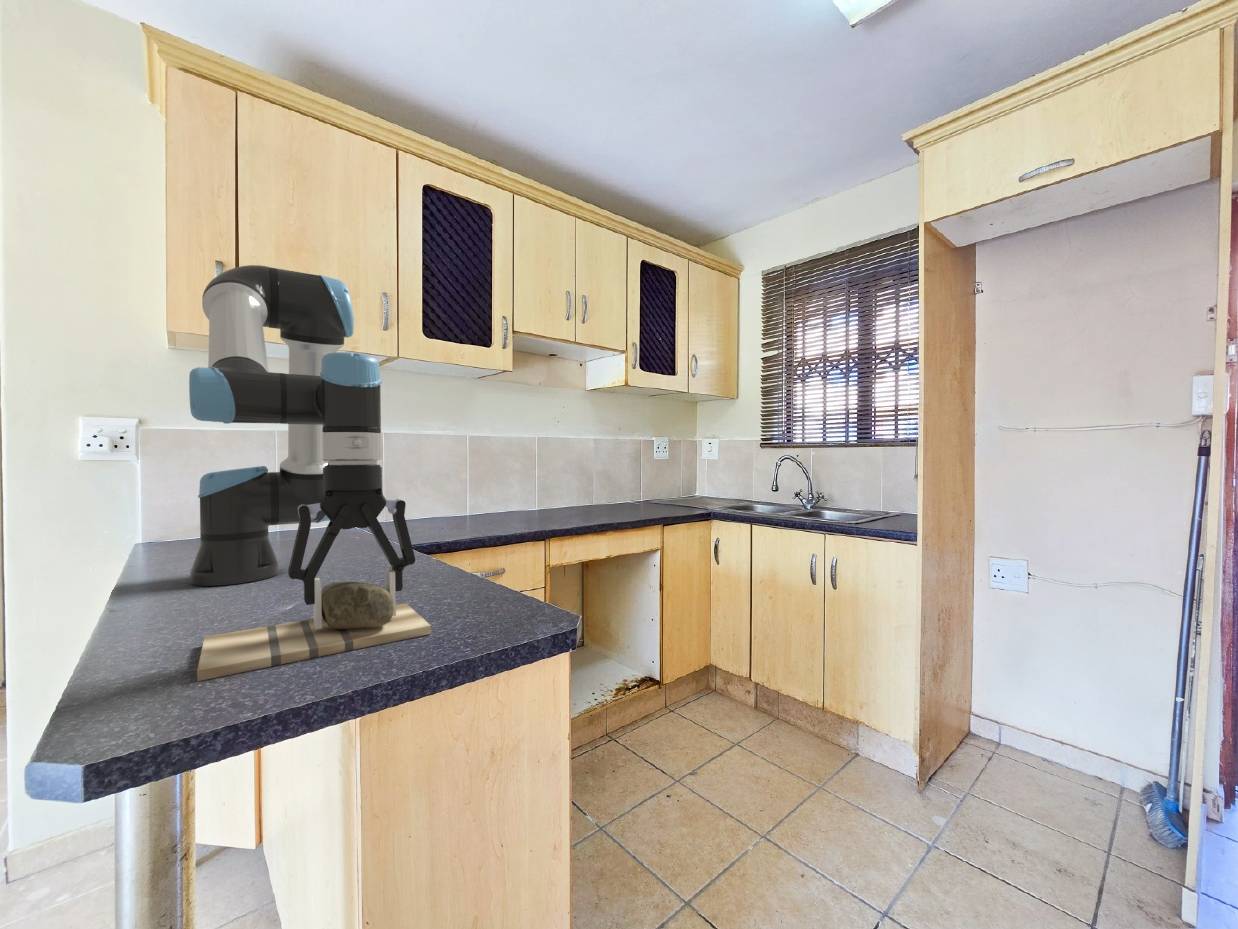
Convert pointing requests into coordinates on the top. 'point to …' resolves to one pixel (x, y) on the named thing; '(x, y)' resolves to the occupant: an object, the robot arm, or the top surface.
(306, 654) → the board
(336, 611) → the stone
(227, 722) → the top surface
